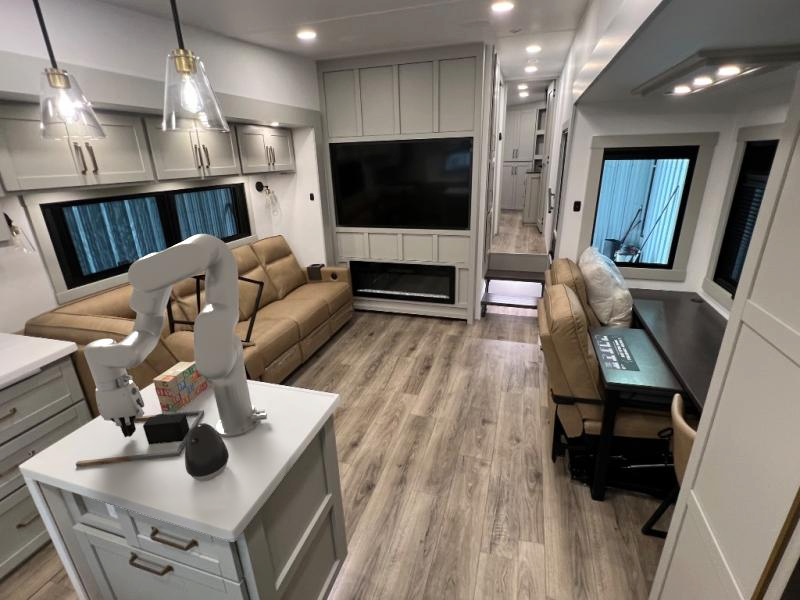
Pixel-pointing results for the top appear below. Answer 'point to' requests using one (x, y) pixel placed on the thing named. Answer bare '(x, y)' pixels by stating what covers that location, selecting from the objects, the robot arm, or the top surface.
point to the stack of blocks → (179, 386)
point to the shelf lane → (113, 459)
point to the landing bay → (182, 445)
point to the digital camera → (166, 428)
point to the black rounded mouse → (205, 453)
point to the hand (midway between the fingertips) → (130, 433)
